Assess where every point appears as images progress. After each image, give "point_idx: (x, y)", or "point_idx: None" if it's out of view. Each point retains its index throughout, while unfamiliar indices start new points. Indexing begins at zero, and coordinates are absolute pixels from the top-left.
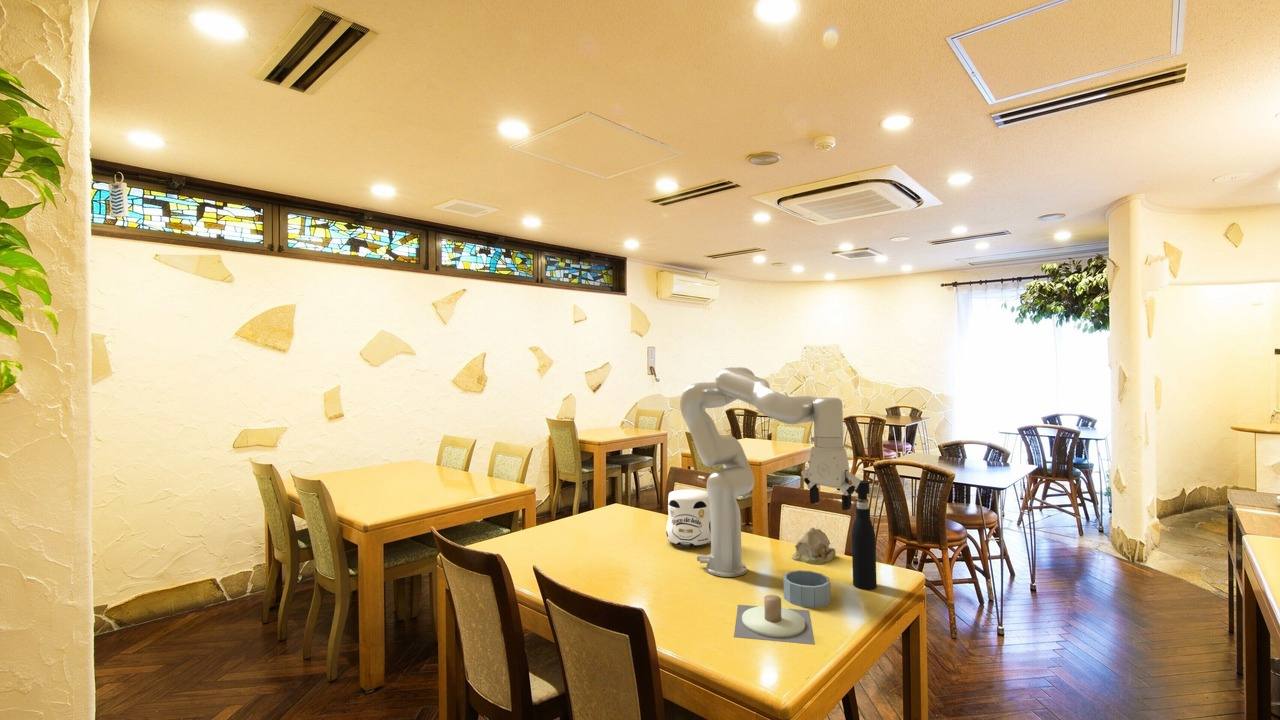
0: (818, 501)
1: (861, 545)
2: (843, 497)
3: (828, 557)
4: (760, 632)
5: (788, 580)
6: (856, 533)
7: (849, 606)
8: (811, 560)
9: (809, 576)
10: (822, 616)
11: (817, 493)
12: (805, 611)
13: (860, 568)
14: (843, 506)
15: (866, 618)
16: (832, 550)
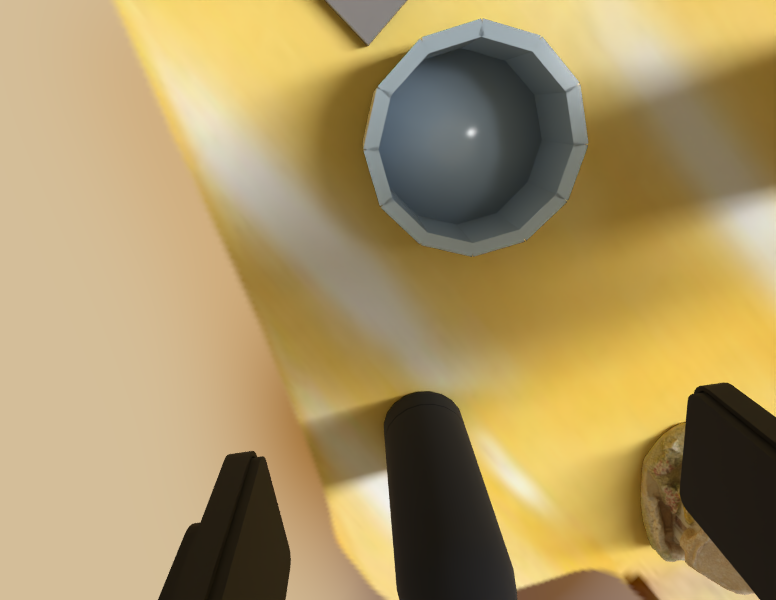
0: (685, 497)
1: (425, 512)
2: (184, 595)
3: (648, 502)
4: None
5: (512, 42)
6: (462, 554)
7: (330, 241)
8: (677, 437)
9: (516, 222)
10: (320, 74)
11: (763, 572)
12: (367, 20)
13: (419, 437)
14: (223, 479)
15: (225, 209)
16: (666, 547)
